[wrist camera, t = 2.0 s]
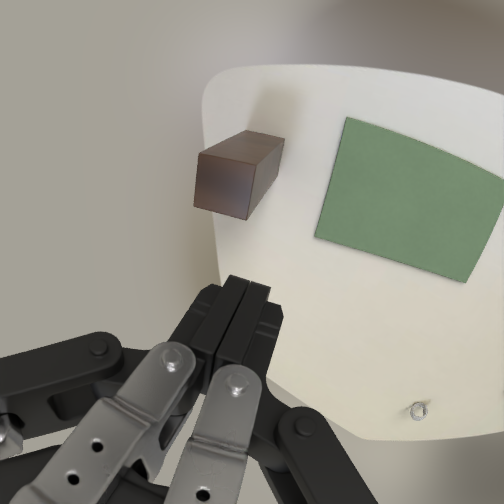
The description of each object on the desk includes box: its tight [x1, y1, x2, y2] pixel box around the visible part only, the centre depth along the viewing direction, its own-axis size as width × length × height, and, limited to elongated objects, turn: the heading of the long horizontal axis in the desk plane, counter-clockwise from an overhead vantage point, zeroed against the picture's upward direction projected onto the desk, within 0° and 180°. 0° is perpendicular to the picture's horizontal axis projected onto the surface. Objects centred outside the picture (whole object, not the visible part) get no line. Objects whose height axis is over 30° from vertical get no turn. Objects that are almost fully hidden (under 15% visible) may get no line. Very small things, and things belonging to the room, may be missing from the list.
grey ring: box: [410, 403, 428, 421], centre depth 51 cm, size 4×2×4 cm, turn 101°
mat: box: [315, 117, 504, 283], centre depth 35 cm, size 16×24×1 cm, turn 80°
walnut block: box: [194, 130, 285, 220], centre depth 32 cm, size 5×5×14 cm
